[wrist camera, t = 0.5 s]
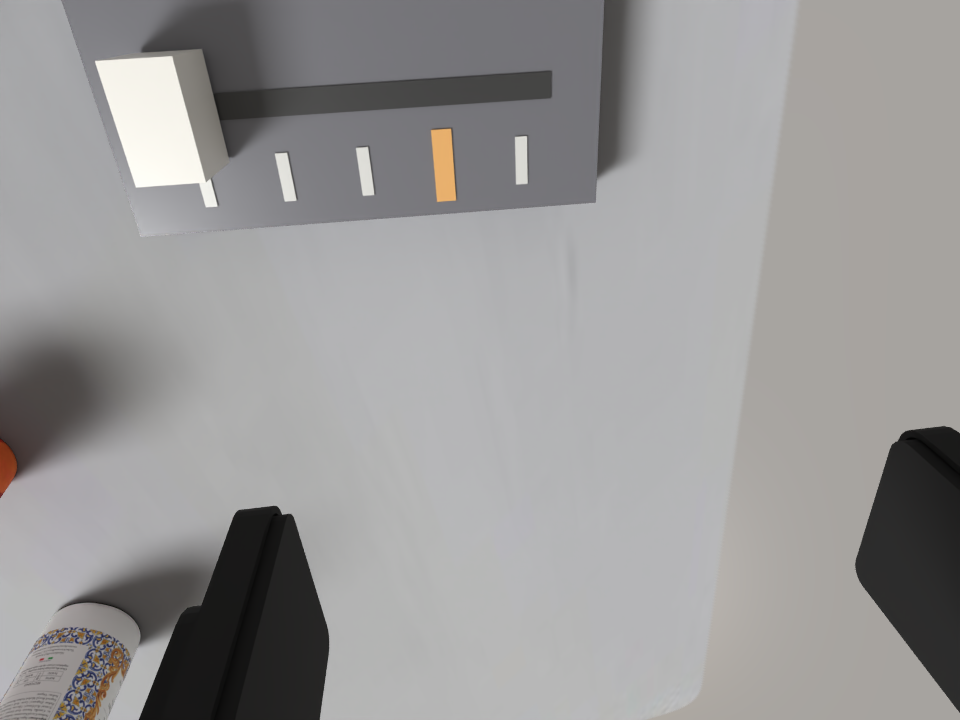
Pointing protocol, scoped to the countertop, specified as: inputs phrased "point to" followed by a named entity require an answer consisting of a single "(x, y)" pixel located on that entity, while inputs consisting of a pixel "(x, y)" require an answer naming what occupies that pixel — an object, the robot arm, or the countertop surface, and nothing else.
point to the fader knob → (165, 116)
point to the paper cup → (6, 466)
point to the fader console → (367, 105)
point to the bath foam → (74, 666)
